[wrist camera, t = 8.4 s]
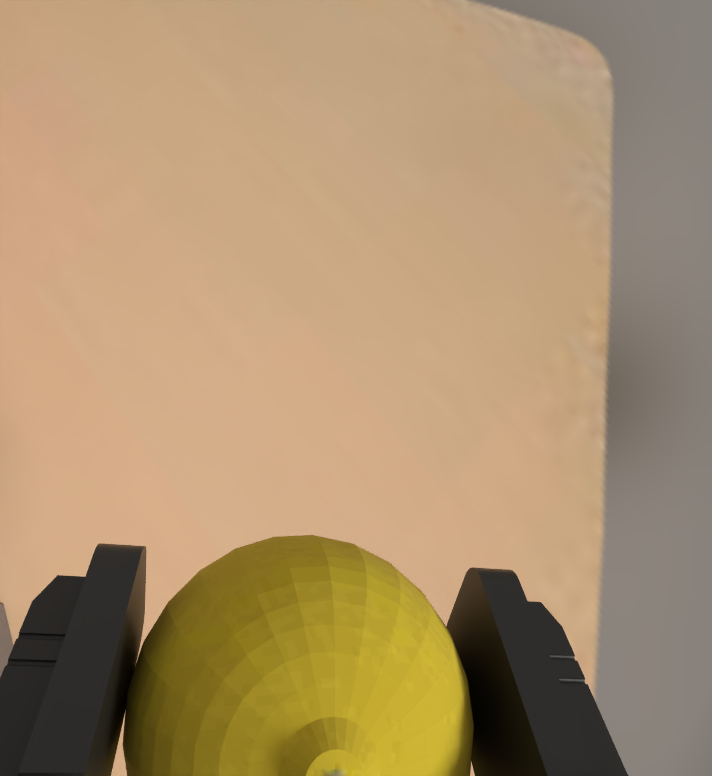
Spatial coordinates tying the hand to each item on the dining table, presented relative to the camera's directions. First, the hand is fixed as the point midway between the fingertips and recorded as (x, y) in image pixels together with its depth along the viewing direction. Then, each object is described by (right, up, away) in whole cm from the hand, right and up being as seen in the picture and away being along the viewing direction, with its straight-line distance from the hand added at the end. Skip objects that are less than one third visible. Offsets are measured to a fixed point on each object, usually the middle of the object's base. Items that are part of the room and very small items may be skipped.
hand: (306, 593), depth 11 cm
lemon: (-1, -3, +4) cm, 5 cm away
